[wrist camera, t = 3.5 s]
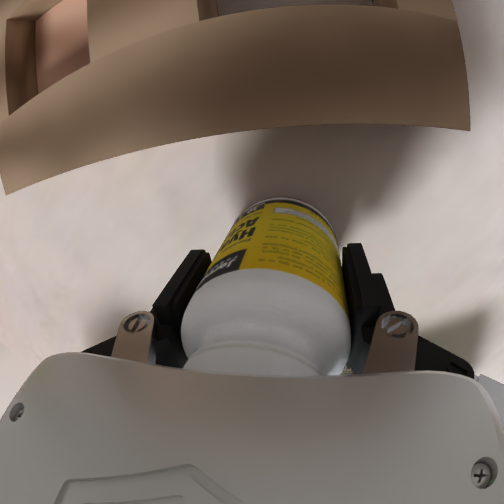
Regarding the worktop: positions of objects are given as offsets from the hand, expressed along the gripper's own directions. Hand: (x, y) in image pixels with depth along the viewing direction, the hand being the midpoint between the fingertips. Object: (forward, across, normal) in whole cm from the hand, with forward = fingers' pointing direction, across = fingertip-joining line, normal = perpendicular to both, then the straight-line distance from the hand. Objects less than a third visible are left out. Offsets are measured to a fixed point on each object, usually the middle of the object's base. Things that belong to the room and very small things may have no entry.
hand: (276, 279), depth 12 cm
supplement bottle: (+3, 0, 0) cm, 3 cm away
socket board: (+3, +4, -14) cm, 15 cm away
